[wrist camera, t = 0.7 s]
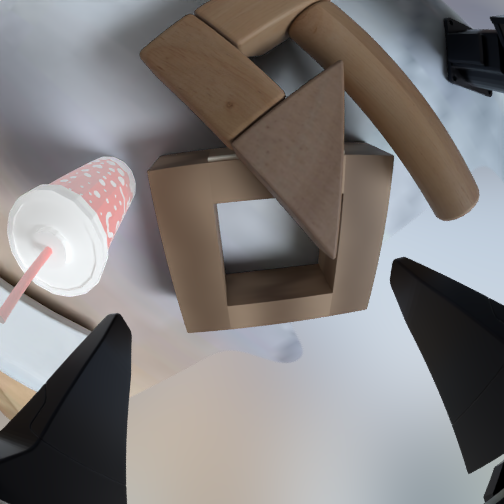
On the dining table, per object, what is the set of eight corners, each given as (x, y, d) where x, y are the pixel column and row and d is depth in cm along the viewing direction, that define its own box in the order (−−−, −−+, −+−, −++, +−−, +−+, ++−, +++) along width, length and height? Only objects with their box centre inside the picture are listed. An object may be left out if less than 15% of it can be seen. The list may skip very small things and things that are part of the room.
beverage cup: (118, 236, 21) (49, 386, 9) (62, 193, 18) (-49, 312, 7) (162, 179, 19) (88, 325, 7) (99, 129, 17) (-48, 212, 5)
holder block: (366, 140, 19) (394, 152, 16) (350, 281, 26) (366, 309, 23) (160, 153, 18) (146, 168, 15) (190, 300, 25) (187, 332, 22)
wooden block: (134, 52, 10) (375, 315, 13) (290, -43, 9) (492, 187, 12) (155, 76, 14) (352, 291, 17) (284, -11, 13) (457, 185, 15)
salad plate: (119, 327, 27) (111, 352, 24) (84, 397, 35) (79, 414, 32) (-31, 233, 19) (-48, 249, 16) (-23, 334, 26) (-31, 349, 24)
